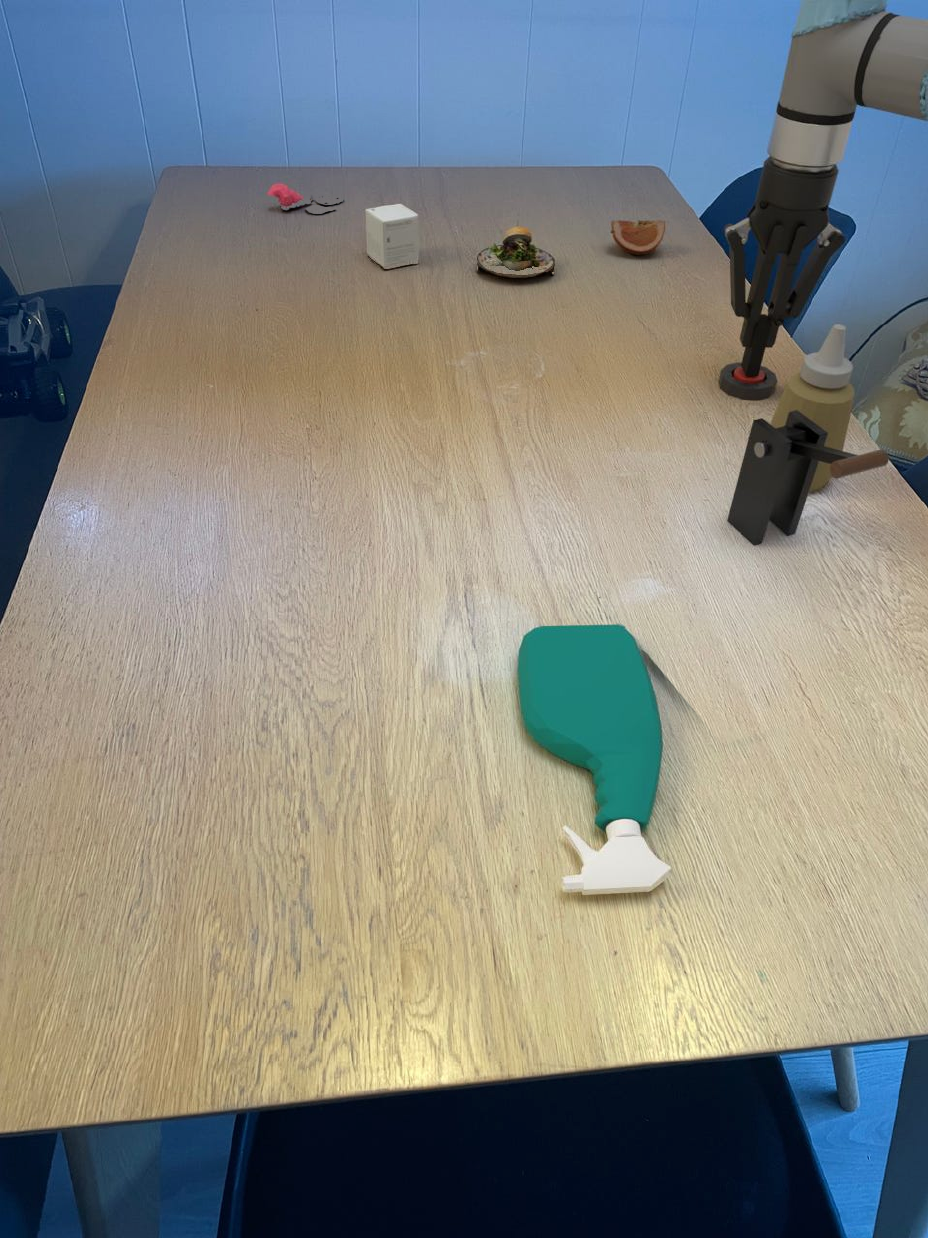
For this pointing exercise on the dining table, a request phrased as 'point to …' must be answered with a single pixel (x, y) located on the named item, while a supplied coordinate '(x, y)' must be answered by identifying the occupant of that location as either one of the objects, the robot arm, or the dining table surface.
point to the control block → (747, 384)
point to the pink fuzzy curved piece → (284, 194)
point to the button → (741, 376)
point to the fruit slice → (638, 235)
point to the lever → (832, 455)
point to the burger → (516, 254)
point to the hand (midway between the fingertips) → (749, 370)
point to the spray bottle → (599, 742)
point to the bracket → (773, 479)
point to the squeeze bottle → (822, 396)
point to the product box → (392, 234)
